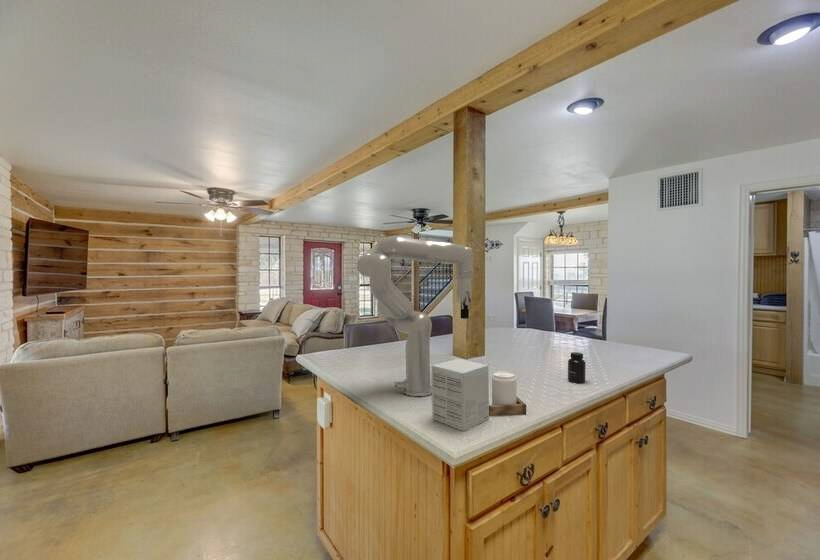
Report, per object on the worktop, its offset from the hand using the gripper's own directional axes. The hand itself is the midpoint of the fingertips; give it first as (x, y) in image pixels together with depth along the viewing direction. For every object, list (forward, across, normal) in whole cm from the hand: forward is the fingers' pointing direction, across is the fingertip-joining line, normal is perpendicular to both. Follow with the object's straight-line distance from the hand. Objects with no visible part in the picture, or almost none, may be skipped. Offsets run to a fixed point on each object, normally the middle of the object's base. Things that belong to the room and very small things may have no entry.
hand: (464, 318), depth 157 cm
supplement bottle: (+27, +8, +46) cm, 54 cm away
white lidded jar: (+27, +34, +5) cm, 44 cm away
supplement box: (+27, +40, -12) cm, 50 cm away
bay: (+27, +33, +4) cm, 43 cm away
